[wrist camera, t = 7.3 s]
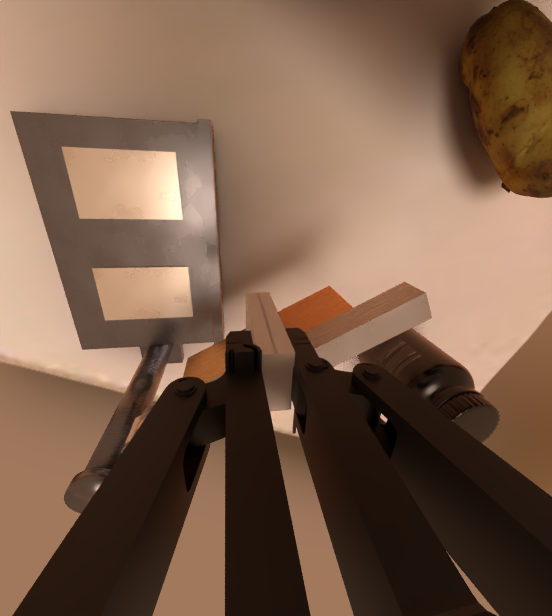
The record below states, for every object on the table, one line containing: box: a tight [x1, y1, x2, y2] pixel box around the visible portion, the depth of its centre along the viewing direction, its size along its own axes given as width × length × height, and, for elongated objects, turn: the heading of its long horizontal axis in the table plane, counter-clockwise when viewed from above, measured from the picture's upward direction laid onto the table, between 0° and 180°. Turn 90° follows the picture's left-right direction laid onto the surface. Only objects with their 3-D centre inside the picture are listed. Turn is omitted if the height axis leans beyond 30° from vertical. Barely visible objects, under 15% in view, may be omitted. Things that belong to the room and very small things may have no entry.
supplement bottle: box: [359, 328, 500, 443], centre depth 25 cm, size 7×7×12 cm
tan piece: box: [125, 282, 432, 446], centre depth 17 cm, size 18×2×7 cm, turn 116°
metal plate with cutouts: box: [10, 111, 224, 350], centre depth 21 cm, size 17×12×3 cm
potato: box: [460, 0, 552, 198], centre depth 19 cm, size 8×13×8 cm, turn 15°
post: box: [64, 344, 184, 513], centre depth 20 cm, size 4×4×15 cm
